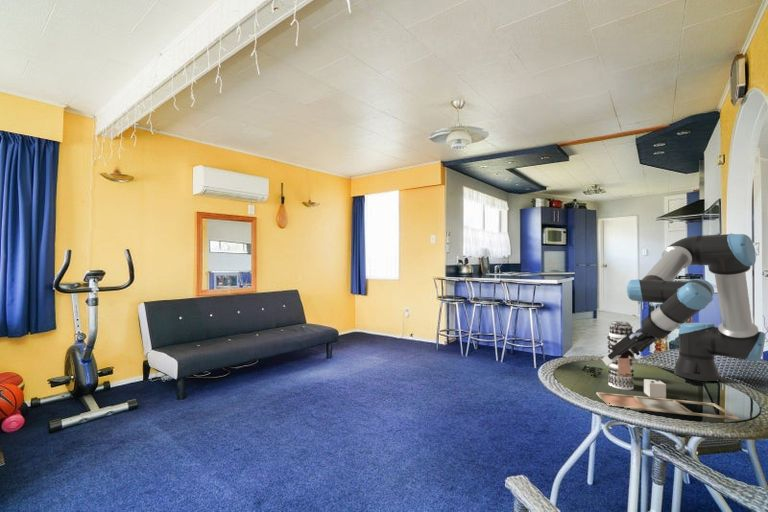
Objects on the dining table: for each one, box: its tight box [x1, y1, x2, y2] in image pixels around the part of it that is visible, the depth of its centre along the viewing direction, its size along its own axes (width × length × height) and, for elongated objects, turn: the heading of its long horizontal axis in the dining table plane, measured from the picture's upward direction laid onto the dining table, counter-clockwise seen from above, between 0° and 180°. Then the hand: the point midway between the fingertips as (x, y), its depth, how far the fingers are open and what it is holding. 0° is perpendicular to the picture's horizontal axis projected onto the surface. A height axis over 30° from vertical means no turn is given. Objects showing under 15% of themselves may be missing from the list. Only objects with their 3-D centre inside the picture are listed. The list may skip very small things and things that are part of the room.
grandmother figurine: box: [617, 339, 637, 377], centre depth 127 cm, size 8×4×13 cm, turn 91°
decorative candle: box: [606, 320, 635, 391], centre depth 144 cm, size 9×9×25 cm
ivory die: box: [643, 378, 667, 399], centre depth 134 cm, size 5×5×6 cm
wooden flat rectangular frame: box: [596, 391, 741, 421], centre depth 124 cm, size 36×13×1 cm, turn 75°
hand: (612, 361), depth 130 cm, fingers closed on grandmother figurine, 6 cm apart
